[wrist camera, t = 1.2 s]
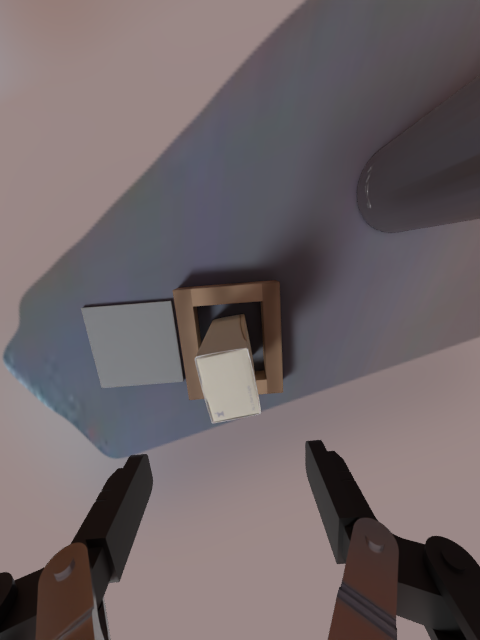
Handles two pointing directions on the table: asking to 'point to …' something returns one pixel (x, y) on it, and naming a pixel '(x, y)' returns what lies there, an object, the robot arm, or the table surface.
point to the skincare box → (228, 370)
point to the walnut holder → (227, 294)
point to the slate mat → (134, 343)
